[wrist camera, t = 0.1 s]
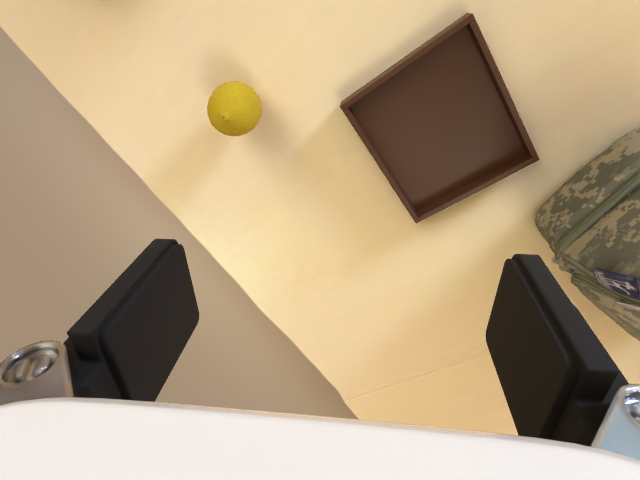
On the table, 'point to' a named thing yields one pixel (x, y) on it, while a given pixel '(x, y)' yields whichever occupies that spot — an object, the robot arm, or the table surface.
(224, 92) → the lemon
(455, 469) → the robot arm
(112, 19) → the table surface
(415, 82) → the walnut tray
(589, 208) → the lunch bag
